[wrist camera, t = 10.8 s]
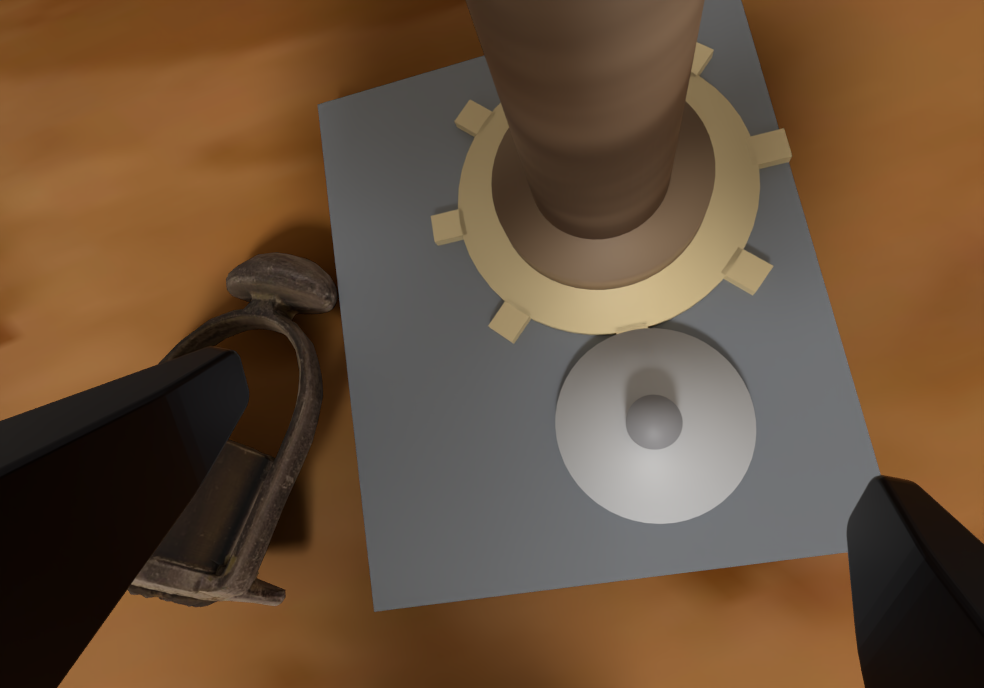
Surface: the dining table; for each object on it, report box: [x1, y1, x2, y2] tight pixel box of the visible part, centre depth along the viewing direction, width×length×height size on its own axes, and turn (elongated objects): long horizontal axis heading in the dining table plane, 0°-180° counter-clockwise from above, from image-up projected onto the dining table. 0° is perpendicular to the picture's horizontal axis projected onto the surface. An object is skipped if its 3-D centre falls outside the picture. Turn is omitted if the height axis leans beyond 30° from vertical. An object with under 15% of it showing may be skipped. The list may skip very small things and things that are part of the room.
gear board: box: [318, 0, 881, 612], centre depth 20 cm, size 19×16×3 cm
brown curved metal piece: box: [127, 252, 338, 607], centre depth 20 cm, size 7×13×10 cm
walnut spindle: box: [466, 0, 715, 290], centre depth 13 cm, size 7×7×13 cm
